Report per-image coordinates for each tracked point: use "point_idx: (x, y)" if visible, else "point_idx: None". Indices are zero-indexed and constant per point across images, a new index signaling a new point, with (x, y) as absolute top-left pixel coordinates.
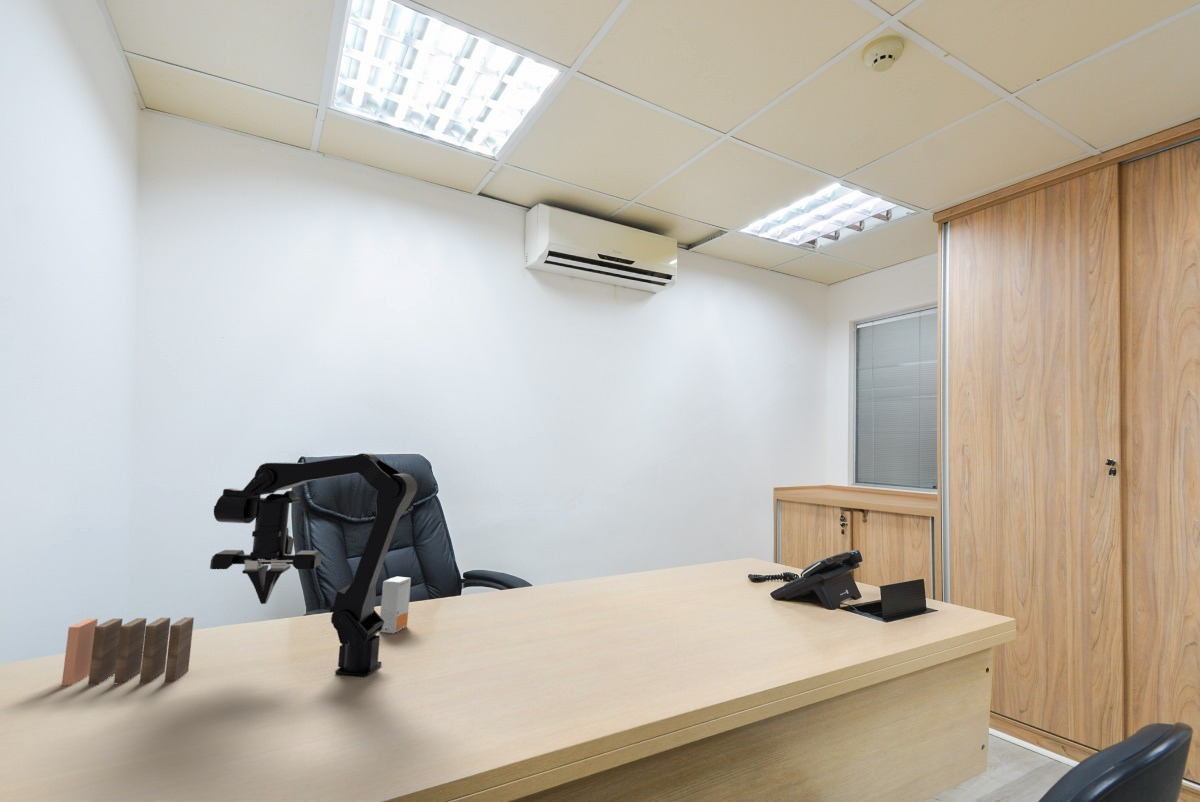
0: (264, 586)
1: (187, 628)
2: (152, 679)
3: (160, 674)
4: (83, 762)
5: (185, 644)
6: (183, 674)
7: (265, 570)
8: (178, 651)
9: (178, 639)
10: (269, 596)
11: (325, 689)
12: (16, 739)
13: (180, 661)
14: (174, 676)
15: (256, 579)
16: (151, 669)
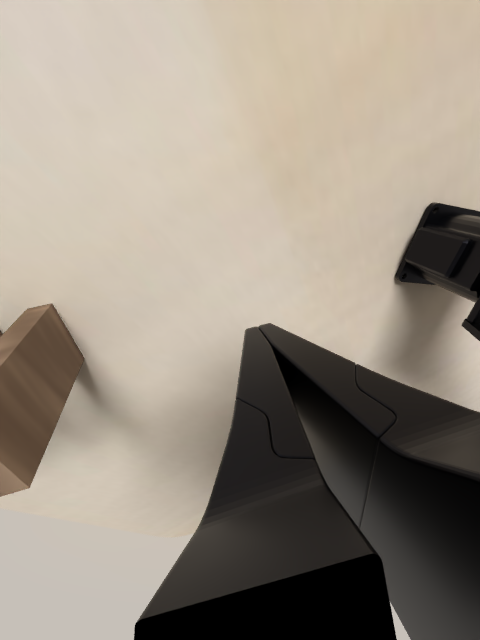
0: (323, 473)
1: (8, 424)
2: None
3: (1, 334)
4: (190, 510)
5: (35, 383)
6: (64, 325)
7: (351, 575)
8: (60, 406)
9: (47, 441)
10: (292, 337)
11: (382, 338)
12: (60, 515)
13: (63, 370)
14: (79, 365)
15: (297, 576)
16: None
